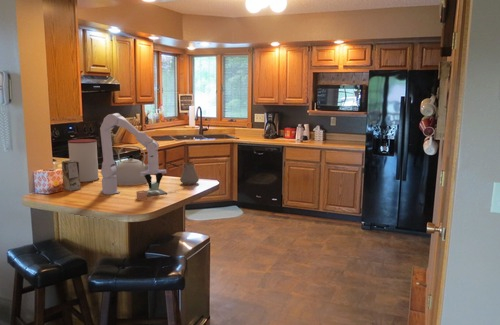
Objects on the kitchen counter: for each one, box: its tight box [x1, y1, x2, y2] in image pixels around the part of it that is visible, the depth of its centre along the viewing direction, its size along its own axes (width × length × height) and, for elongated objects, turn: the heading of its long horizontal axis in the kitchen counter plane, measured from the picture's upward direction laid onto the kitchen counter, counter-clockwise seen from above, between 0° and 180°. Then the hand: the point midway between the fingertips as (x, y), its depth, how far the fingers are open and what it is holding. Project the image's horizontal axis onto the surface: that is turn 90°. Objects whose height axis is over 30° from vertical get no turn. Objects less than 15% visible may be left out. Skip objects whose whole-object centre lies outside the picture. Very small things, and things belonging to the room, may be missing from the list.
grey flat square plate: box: [145, 188, 168, 198], centre depth 234 cm, size 11×11×1 cm
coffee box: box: [61, 159, 81, 192], centre depth 242 cm, size 9×6×16 cm
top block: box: [135, 190, 148, 201], centre depth 222 cm, size 4×4×4 cm
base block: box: [148, 181, 160, 191], centre depth 234 cm, size 4×4×4 cm
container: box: [67, 138, 100, 184], centre depth 265 cm, size 17×17×25 cm
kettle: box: [116, 145, 148, 186], centre depth 262 cm, size 25×23×23 cm
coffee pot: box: [165, 161, 200, 186], centre depth 253 cm, size 21×12×15 cm, turn 132°
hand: (153, 187), depth 234 cm, fingers closed on base block, 4 cm apart
